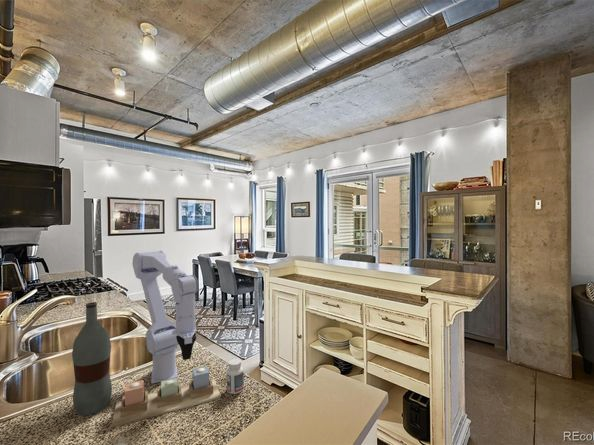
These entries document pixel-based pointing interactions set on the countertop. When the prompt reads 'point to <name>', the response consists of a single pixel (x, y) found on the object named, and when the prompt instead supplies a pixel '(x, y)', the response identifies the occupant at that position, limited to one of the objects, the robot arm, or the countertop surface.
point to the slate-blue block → (200, 377)
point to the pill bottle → (235, 377)
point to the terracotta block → (134, 393)
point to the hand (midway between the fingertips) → (186, 358)
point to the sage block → (169, 387)
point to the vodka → (91, 366)
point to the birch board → (164, 402)
